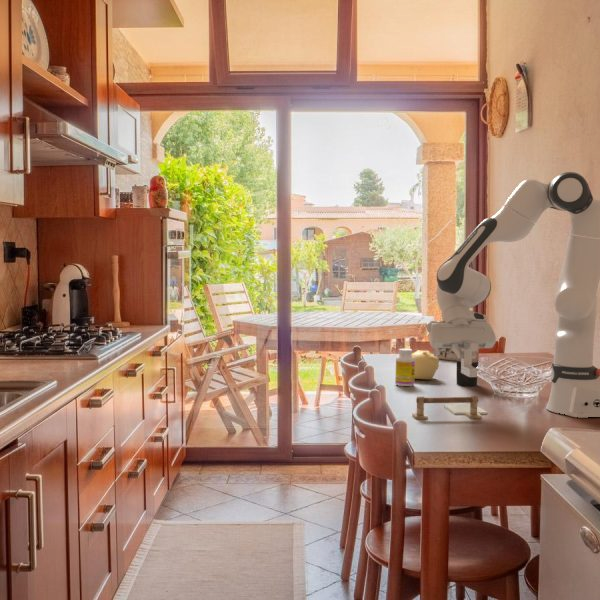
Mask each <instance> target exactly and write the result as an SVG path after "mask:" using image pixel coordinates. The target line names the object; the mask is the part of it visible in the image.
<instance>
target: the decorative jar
mask: <svg viewBox="0 0 600 600" xmlns="http://www.w3.org/2000/svg"><path fill="white" fill-rule="evenodd" d="M433 355H434V356H436V357H437V358H438V359H439V360H445V361H454V362H455V361H456V362H457V355H456V354H455V353H454V352H453V351H452V348H433Z"/></svg>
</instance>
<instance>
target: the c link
mask: <svg viewBox="0 0 600 600" xmlns="http://www.w3.org/2000/svg"><path fill="white" fill-rule="evenodd" d="M478 346H479V343H477V342H474V341H471V340H462V351H463V354H464V357H463V359H461V373H462V374H464V375H466V376H468V377H477V378H478V376H477V371H478V372H479V368H478V369H476V368H474V367H472V351H478Z"/></svg>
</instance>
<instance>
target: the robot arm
mask: <svg viewBox="0 0 600 600" xmlns="http://www.w3.org/2000/svg"><path fill="white" fill-rule="evenodd" d="M547 209H553V210H558V211H564V212H568V214H569V215H570V221H571V222H570V228H569V233H568V238H567V243H566V248H565V253H564V258H563V263H562V267H561V271H560V274H559V279H558V283H557V287H556V290H555V295H554V300H553V301H554V302H553V303H554V304H553V305H554V308H555V311H556V313H557V319H556V328H555V336H554V349H553V351H554V353H553V363H552V366H551V371H550V373H551V374H550V375H551V376H550V377H551V389H550V394H549V397H548V401H547V404H546V407H545V409H546V410H548V411H550V412H552V413H556V414H559V413H560V414H561V415H564V414H565V415H566V416H569V417H573V418H577V417H578V419H579V418H581V419H584V418H587V419H588V417H600V378H599V377H600V368H597V367H596V366H594V365H593V363H594V362H593V361H594V345H595V344H594V341H595V331H596V329H595V328H596V316H597V308H598V307H597V304H598V297H597V293H598V289H599V283H600V200H599V199H594V197H593V194H592V192H591V189H590V186H589V183H588V182H587V180H586V178H585V177H584V176H583V175H581V174H580V173H578V172H573V171H565V172H562V173H560V174H558V175H557V176H555V177H554V178H553V179H552V180H551V181H550V182H548V183H543V182H541V181H540V180H537V179H533V178H532V179H531V178H529V179H524V180H523V181H522V182H520V183H519V184H518V186H517V187H516V188H515V189H514V190H513V191H512V193H511V194H510V195H509V196H508V198H507V199H506V201H505V202H504V204H503V205H502V206H501V208H500V209H499V210H498V211H497V212H496V213H495V214H494V215H492V216H490V217H487V218H485V219H483V220H482V221H481V222H480V223H479V224H478V225H477V226H476V227H475V228H474V229H473V231H472V232H471V233H470V234H469V235H468V236H467V237H466V239H465V240H464V241H463V242H462V244H460V246H459V247H458V248H457V250H456V251H454V253H453V254H452V255H451V256H450V257H449V258H448V259H446V260H445V261H444V262H443V263H442V264H441V265H440V266H439V268H438V269H437V272H436V282H437V284H436V285H437V286H436V299H437V304H438V307H439V310H440V311H441V315H440V317H441V320H437V321H435V320H431V321H429V322H427V324H426V330H427V332H428V339H429V345H430V346H431V348H433V349H434V348H452V351H453V352H454V353H455V354H456V355H457V357H458V359H463V357H464V354H463V351H460V350H459V349H458V348H462V340H471V341H474V342H477V343H479V346H478V348H479V349H493V348H494V346H495V344H496V342H497V337H496V333H495V331H494V329H493V327H492V325H491V324H490V323H489V322H488V316H487V315H486V314H483V313H480V312H476V311H473V310H471V308H474V307H476V306H478V305H479V304H482V303H483V302H484V301H486V299H488V298H489V296H490V295H491V290H492V282H491V280H490V278H489V277H488V276H486V275H485V274H483V273H481V272H480V271H477V270H475V269H473V268H471V267H469V265H470V264H471V263H472V262H473V261H474V259H475V258H476V257H477V256H478V254H480V252H481V251H482V250H483V249H484V248H485V246H488V245H489V244H492V243H496V242H503V243H504V242H505V243H512V242H513V243H514V242H518V241H520V240H523V239H524V238H526V236H528V235H529V234H530V233H531V231H532V230H533V228H534V226H535V225H536V223H537V222H538V221H539V219H540V217H541V215H542V214H543V213H544V212H545V211H546V210H547ZM475 358H476V352H475V351H472V359H475ZM560 414H559V415H560Z"/></svg>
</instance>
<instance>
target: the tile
mask: <svg viewBox="0 0 600 600" xmlns="http://www.w3.org/2000/svg"><path fill="white" fill-rule="evenodd" d="M443 408H445V410H447V409H448V410H447V411H449V412H450V413H452V414H454V415H457V416H458V415H465V413H470V404H443ZM477 413H479V414H480V415H488V411H486V410H485V409H483V408H482V407H481V406H480V407H479V406H478V405H477Z"/></svg>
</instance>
